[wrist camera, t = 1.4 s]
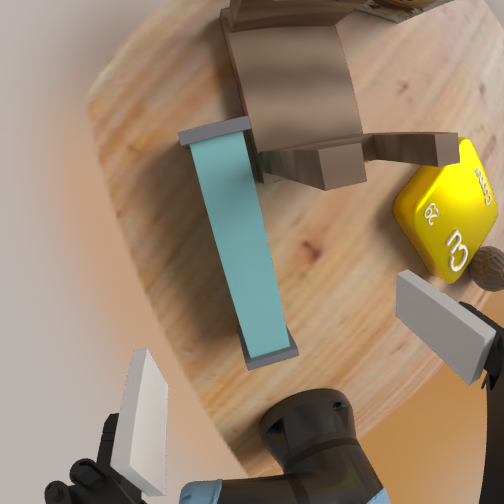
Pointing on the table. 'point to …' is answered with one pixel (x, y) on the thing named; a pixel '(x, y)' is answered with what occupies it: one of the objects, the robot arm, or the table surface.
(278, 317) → the teal bar
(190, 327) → the table surface
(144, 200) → the table surface
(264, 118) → the rack
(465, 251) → the element tile
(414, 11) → the coffee box
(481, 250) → the vase
